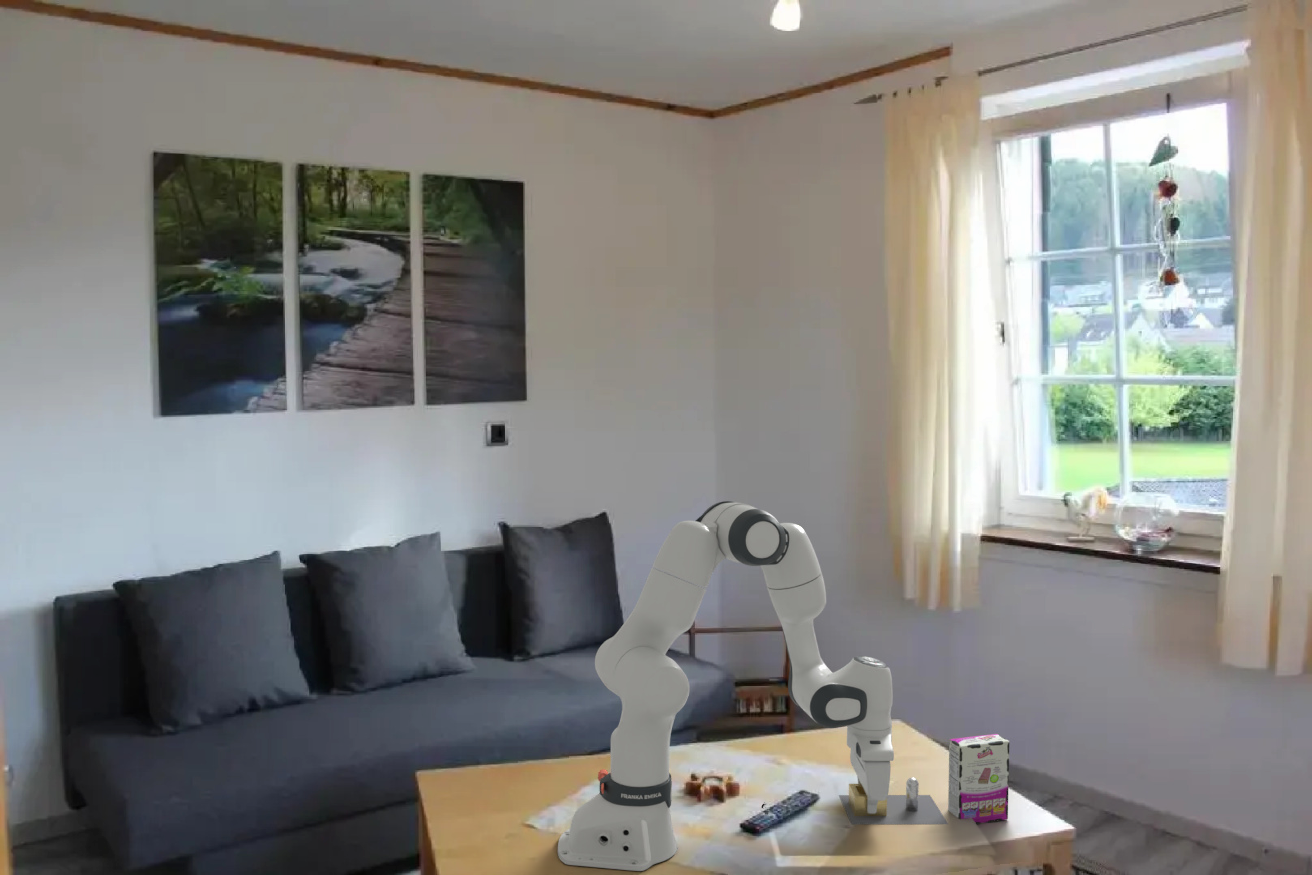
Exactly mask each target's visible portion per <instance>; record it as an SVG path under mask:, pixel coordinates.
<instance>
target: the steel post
mask: <svg viewBox="0 0 1312 875" xmlns="http://www.w3.org/2000/svg"><path fill="white" fill-rule="evenodd" d="M905 784H906V786H905V788H906V790H905V795H906V810H908V811H911V812H915V811H917V810H918V795H919V789H920V788H919V780H918V779H917V778H915V777H909V778H907V779H906V782H905Z"/></svg>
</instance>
